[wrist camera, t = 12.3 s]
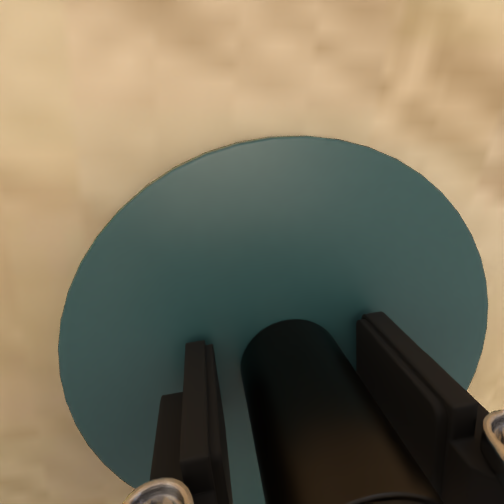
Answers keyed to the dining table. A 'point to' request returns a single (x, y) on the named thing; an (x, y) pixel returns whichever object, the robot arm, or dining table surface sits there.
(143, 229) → the pot lid
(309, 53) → the dining table surface
